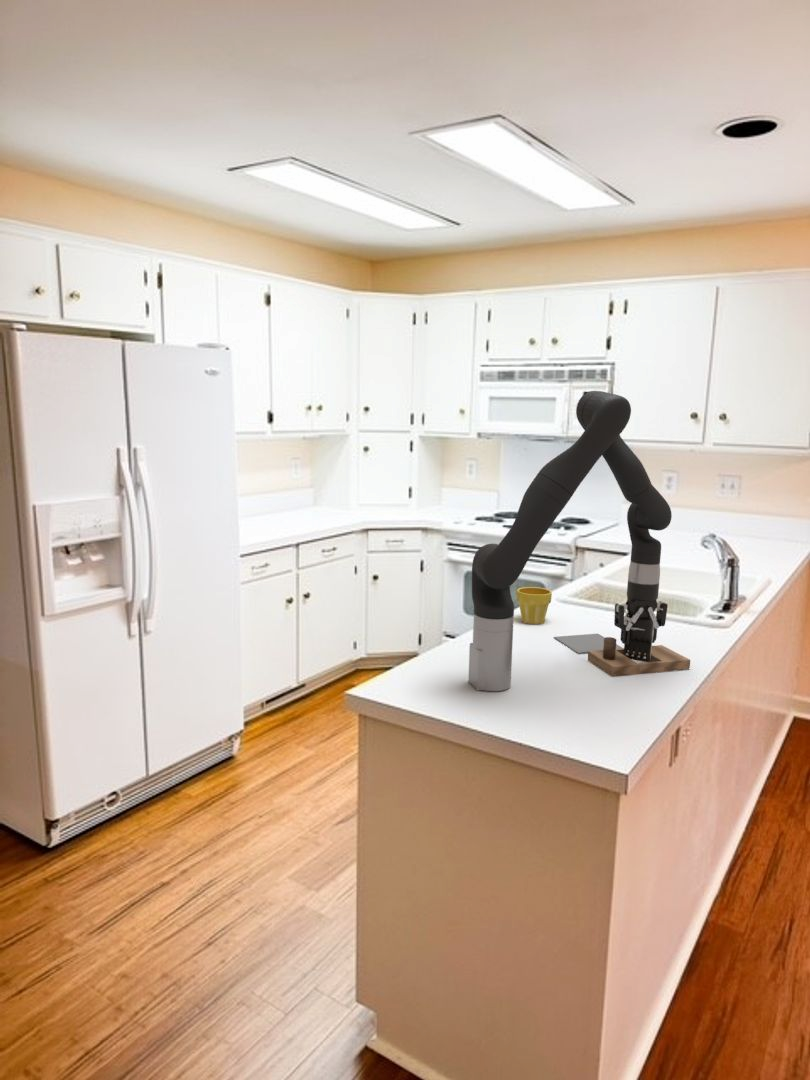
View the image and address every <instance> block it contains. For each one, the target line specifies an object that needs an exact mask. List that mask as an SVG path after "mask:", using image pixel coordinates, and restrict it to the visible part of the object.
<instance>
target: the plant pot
mask: <svg viewBox="0 0 810 1080" xmlns="http://www.w3.org/2000/svg"><path fill="white" fill-rule="evenodd" d="M552 596H553V594H552V591H551V590H550V589H547V588H544V587H539V586H538V587H537V586H536V587H535V586H523V587H519V588H517V590H516V601H517V602H518V606H519V609H520V616H521V621H522V622H523V623H524V624H527V623H528V624H529V625H542V624H544V623H545V619H546V616H547V611H548V608H549V605H550V604H551V603H552Z"/></svg>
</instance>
